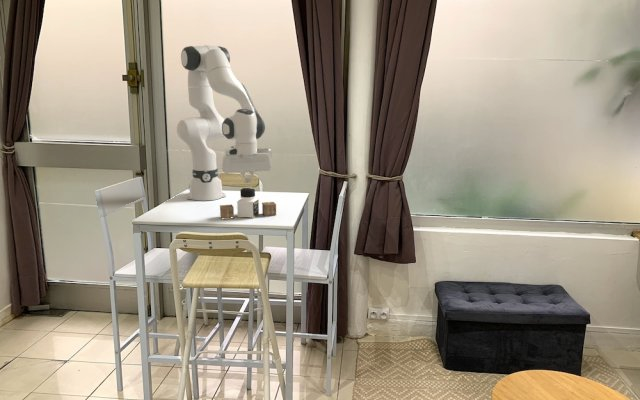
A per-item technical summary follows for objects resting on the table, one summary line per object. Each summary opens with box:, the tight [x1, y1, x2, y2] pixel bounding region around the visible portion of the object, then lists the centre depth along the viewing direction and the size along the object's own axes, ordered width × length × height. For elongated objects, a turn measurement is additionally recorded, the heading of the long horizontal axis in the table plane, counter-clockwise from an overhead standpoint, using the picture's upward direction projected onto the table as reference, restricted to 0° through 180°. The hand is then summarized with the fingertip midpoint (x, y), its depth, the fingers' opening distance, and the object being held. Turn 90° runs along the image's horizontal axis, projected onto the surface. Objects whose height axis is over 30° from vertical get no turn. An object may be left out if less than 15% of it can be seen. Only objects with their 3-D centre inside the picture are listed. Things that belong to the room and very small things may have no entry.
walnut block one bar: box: [219, 204, 235, 219], centre depth 225 cm, size 5×5×5 cm
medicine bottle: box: [236, 187, 260, 219], centre depth 227 cm, size 7×7×12 cm
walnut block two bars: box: [261, 201, 277, 217], centre depth 230 cm, size 5×5×5 cm
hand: (247, 182), depth 225 cm, fingers closed
